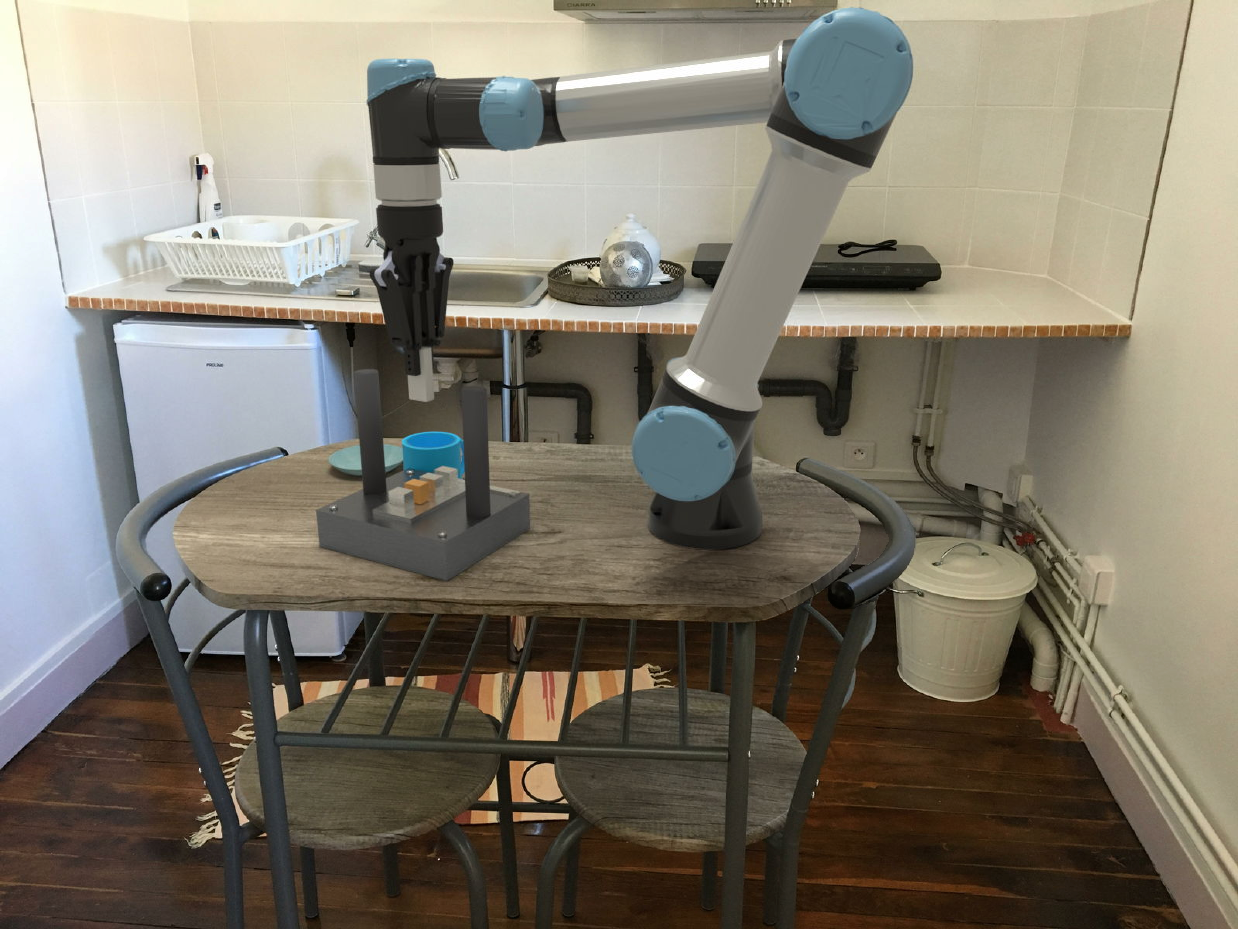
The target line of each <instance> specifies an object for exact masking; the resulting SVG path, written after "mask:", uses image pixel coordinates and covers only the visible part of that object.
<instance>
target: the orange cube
mask: <svg viewBox="0 0 1238 929" xmlns="http://www.w3.org/2000/svg"><path fill="white" fill-rule="evenodd" d="M404 486H405V488H406V489H410V490H413V492H414V503H417V504H422V503H424V502H426V501H428V500H430V499H429V482H426V481H421V480H417V479H412V480H410V481H408V482H406V483H404Z"/></svg>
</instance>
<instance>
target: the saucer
mask: <svg viewBox="0 0 1238 929" xmlns="http://www.w3.org/2000/svg"><path fill="white" fill-rule="evenodd" d="M383 444H384V459H385V473H386V474H387V473H388V472H390V471H393V470H394V469H396V468H397V467H398V466H400V465H401V464H403V450H402V446H401V447H400V446H397V445H394V444H393V445H392V444H387V443H383ZM327 461H328V463H329V464H330V465H331V466H332V467H334V468H335V469H337V470H339V471H340V472H342V473H343V474H347V475H350V476H354V477H362V468H361V455H360V444H358V445H357V444H356V445H353V446H348V447H344V448H342V449H339V450H337V451H334V452H333V453H332V454H330V456H329V457H328V460H327Z"/></svg>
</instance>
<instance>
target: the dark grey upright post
mask: <svg viewBox="0 0 1238 929" xmlns="http://www.w3.org/2000/svg"><path fill="white" fill-rule="evenodd" d="M353 376H354V377H353V378H354V390H355V402H356V415H357V426H358V428H357V429H358V440H359V445H360V455H361V468H362V476H361V479H362V489H363V492H364V493H366V494H380V493H383V492H385V491H386V490H387V487H386V478H387V475H386V474H387V473H385V459H384V444H385V443H384V435H383V434H384V432H383V418H382V404H381V390H380V378H379V370H378V369H374V368H365V369H363V368H362V369H357V370H355V371H354V372H353Z"/></svg>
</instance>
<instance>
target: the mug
mask: <svg viewBox="0 0 1238 929" xmlns="http://www.w3.org/2000/svg"><path fill="white" fill-rule="evenodd" d="M401 448H402V450H403V462H402V464H403V465H402V466H403V471H404V470H406V469H408V468H411V469H415V470H420V471H425V472H429V473H434V470H435V469H437V468H439V467H441V466H445V467H450V468H455V469H457V471H458V479H463V476H464V475H465V470H464V445H463V438H461V437H460V436H458V435H457V434H455V433H451V432H446V431H445V432H444V431H423V432H418V433H414V434H411V435H408V436H406V437H404V438H403V439H402V440H401Z"/></svg>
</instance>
